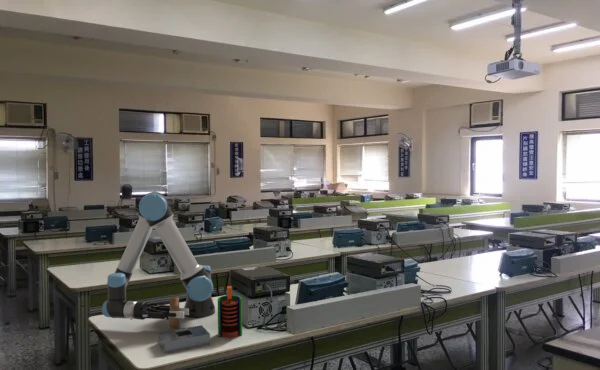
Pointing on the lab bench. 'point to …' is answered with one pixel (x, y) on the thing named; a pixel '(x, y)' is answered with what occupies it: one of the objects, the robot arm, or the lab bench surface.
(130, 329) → the lab bench surface
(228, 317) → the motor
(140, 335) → the lab bench surface
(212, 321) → the lab bench surface
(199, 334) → the hole block
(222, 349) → the lab bench surface
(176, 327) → the pin
